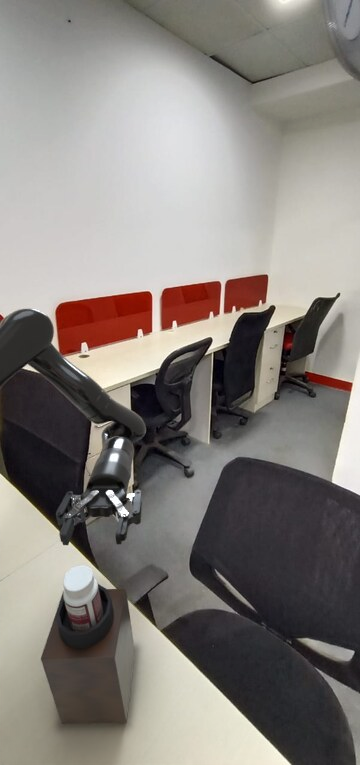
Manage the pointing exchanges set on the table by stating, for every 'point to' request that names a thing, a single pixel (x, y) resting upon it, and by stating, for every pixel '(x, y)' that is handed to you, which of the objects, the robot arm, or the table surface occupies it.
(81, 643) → the collar
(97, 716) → the stand
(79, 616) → the pill bottle
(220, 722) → the table surface
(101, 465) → the robot arm
